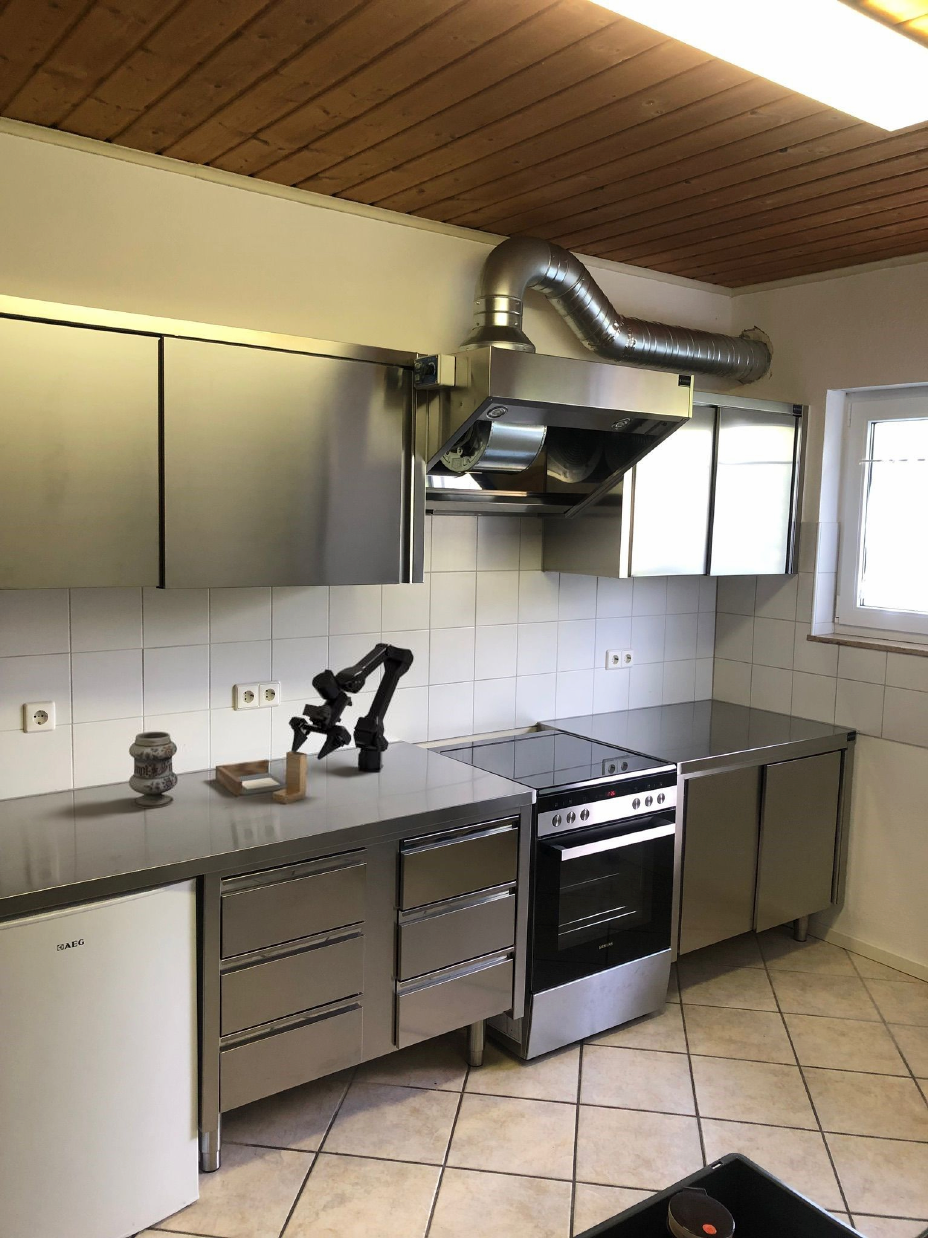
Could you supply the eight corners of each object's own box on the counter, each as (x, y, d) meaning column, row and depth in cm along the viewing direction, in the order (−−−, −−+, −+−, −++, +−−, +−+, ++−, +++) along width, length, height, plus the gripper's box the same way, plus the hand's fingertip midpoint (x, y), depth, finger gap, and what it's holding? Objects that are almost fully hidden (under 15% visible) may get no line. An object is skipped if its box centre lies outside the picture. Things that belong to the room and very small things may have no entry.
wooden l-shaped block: (291, 793, 262) (292, 750, 260) (305, 797, 259) (306, 753, 258) (272, 800, 256) (273, 756, 254) (286, 804, 253) (287, 759, 251)
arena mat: (268, 774, 278) (268, 772, 278) (291, 788, 266) (291, 786, 266) (222, 780, 271) (222, 778, 270) (242, 795, 258) (242, 794, 258)
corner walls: (266, 772, 280) (267, 759, 279) (291, 788, 266) (291, 774, 265) (215, 779, 271) (215, 766, 270) (237, 796, 257) (237, 782, 257)
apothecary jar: (158, 792, 258) (158, 726, 256) (187, 801, 251) (187, 734, 249) (119, 802, 249) (118, 734, 246) (148, 813, 242) (148, 743, 239)
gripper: (293, 688, 268) (265, 733, 260) (346, 697, 259) (318, 745, 251) (311, 711, 276) (284, 756, 268) (363, 721, 266) (336, 768, 258)
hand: (305, 756), depth 261 cm, fingers open, 9 cm apart
